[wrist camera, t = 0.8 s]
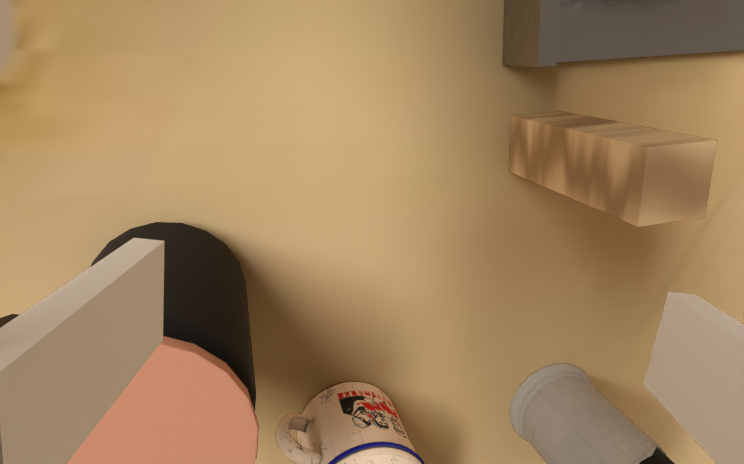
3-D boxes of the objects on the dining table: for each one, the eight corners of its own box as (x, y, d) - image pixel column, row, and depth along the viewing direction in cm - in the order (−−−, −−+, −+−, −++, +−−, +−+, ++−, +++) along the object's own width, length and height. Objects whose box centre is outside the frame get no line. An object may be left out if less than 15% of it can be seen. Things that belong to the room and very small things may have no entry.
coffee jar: (134, 189, 38) (65, 299, 21) (271, 258, 42) (303, 397, 25) (62, 316, 39) (-57, 514, 22) (201, 372, 43) (187, 574, 26)
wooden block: (510, 115, 43) (647, 147, 29) (561, 111, 44) (716, 140, 30) (508, 171, 44) (638, 226, 30) (558, 166, 45) (704, 217, 31)
